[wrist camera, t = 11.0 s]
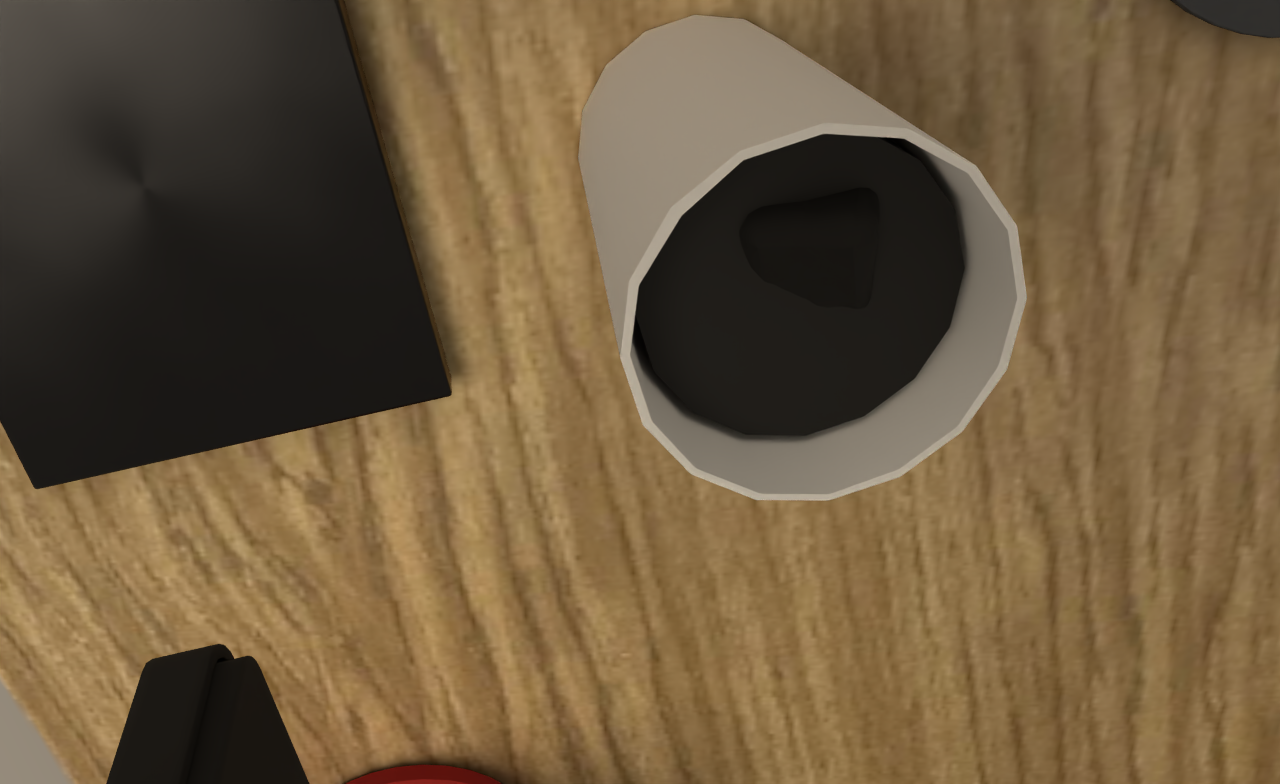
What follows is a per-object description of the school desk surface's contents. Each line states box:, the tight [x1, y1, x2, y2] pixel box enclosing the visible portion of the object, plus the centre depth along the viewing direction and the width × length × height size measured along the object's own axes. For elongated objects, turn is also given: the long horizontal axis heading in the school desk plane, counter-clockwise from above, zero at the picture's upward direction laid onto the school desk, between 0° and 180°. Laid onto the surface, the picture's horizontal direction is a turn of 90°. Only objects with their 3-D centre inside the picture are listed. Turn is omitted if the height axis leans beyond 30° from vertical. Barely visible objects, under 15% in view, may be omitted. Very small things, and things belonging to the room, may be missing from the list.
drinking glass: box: [578, 15, 1027, 500], centre depth 24 cm, size 7×7×10 cm
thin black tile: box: [0, 0, 452, 489], centre depth 26 cm, size 13×10×1 cm
